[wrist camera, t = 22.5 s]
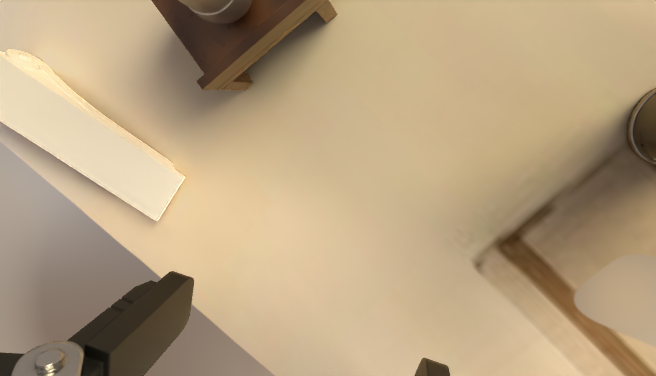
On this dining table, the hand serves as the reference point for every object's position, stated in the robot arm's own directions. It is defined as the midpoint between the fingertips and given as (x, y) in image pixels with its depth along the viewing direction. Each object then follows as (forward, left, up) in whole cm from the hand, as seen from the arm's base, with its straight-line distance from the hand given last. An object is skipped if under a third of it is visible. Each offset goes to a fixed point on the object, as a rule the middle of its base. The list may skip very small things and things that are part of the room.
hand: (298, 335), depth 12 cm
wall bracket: (+30, -24, -36) cm, 53 cm away
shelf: (+1, -22, -35) cm, 42 cm away
